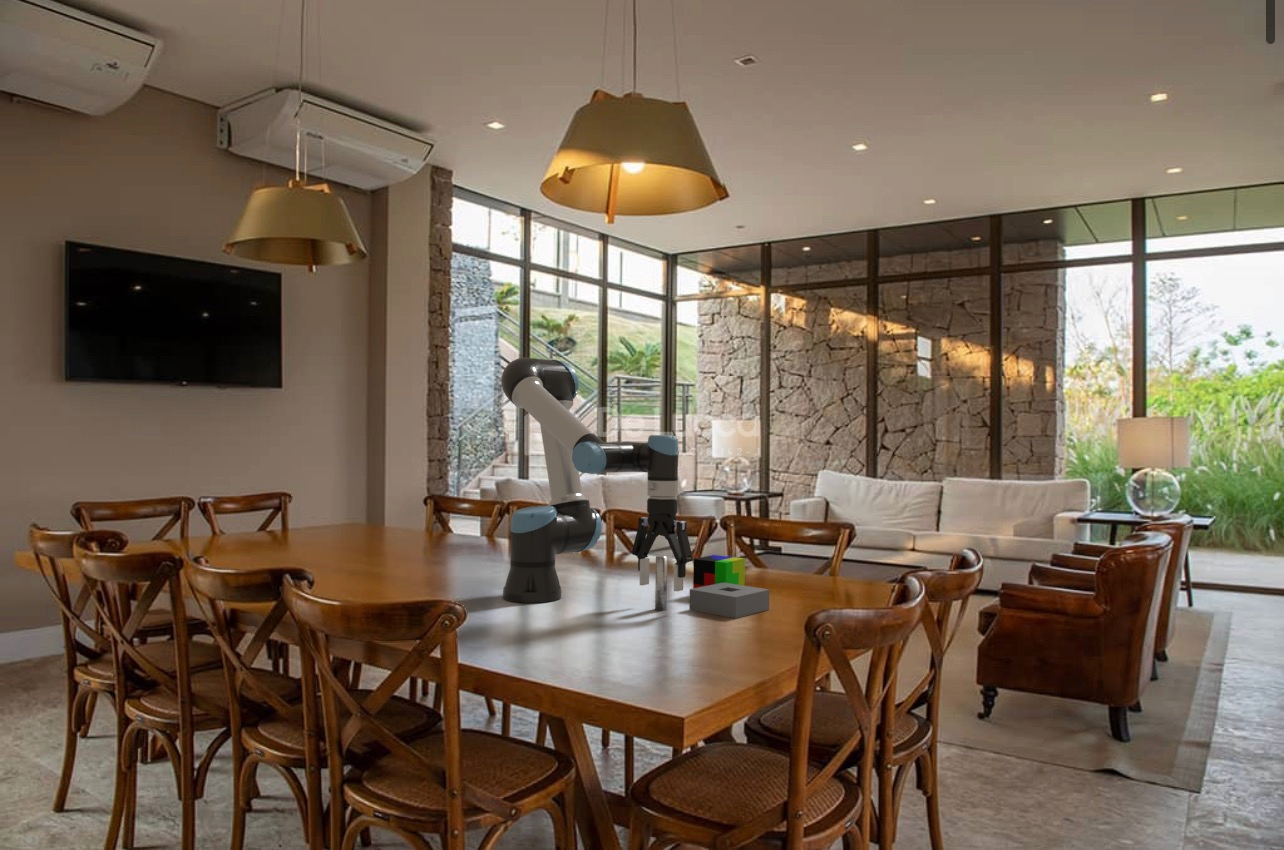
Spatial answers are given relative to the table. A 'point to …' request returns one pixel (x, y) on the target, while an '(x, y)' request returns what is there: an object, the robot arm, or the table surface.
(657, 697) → the table surface
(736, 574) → the puzzle toy
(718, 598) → the socket block
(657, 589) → the pin
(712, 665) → the table surface
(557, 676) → the table surface
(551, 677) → the table surface
